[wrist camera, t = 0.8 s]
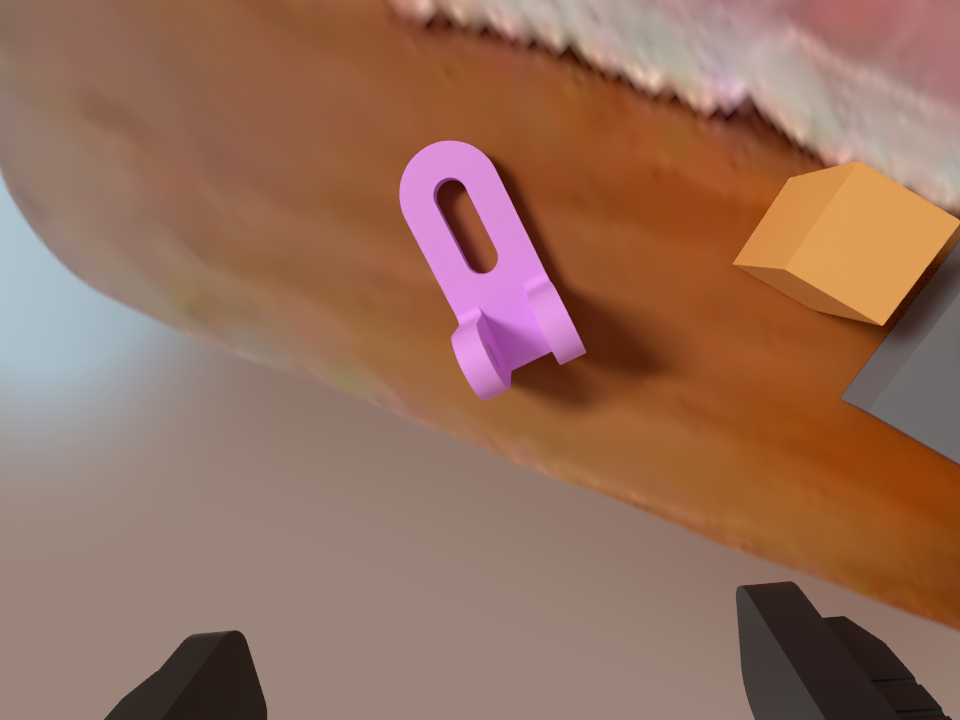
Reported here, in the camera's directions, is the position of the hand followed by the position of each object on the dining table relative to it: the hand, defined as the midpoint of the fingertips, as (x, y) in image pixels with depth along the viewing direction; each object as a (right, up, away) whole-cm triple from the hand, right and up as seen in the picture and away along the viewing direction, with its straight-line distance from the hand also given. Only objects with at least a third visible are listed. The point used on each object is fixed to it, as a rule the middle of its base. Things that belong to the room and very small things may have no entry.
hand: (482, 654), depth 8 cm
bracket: (0, +11, +22) cm, 25 cm away
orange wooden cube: (+18, +11, +21) cm, 29 cm away
